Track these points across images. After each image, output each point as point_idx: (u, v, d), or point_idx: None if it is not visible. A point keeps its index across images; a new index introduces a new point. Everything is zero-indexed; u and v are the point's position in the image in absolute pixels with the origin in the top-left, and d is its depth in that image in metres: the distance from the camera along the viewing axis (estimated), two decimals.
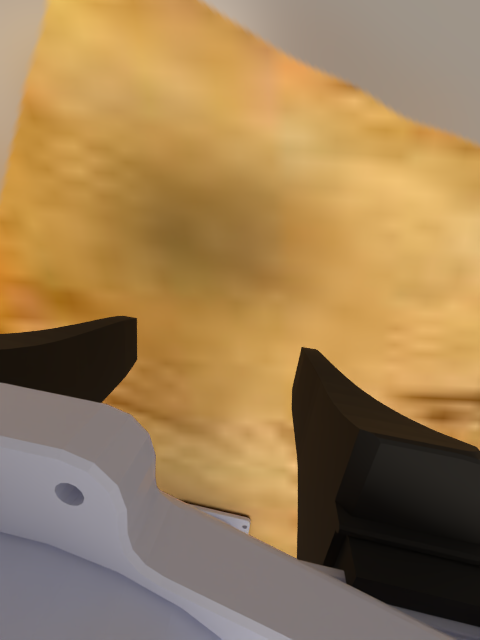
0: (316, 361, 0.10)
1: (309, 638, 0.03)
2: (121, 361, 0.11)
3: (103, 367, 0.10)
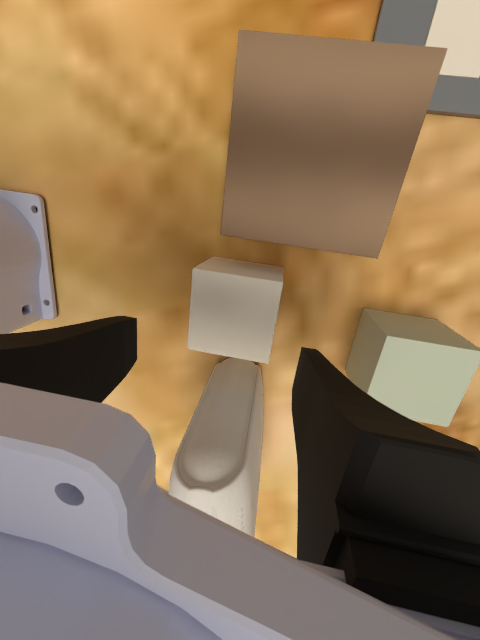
0: (316, 361, 0.10)
1: (309, 638, 0.03)
2: (121, 361, 0.11)
3: (103, 367, 0.10)
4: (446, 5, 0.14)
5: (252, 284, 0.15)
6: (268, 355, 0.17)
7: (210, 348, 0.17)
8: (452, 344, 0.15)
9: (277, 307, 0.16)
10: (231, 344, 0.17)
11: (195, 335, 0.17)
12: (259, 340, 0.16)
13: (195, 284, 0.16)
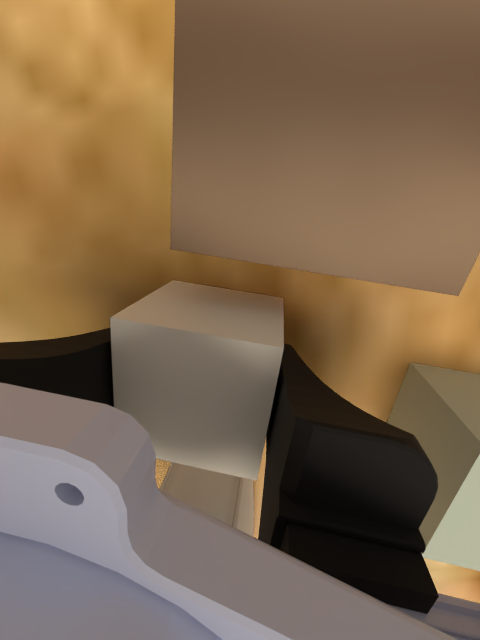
0: (286, 355, 0.10)
1: (309, 638, 0.03)
2: None
3: None
4: None
5: (225, 349, 0.08)
6: (257, 468, 0.09)
7: (155, 450, 0.10)
8: None
9: (272, 391, 0.08)
10: (190, 447, 0.09)
11: None
12: (241, 443, 0.09)
13: (118, 345, 0.08)
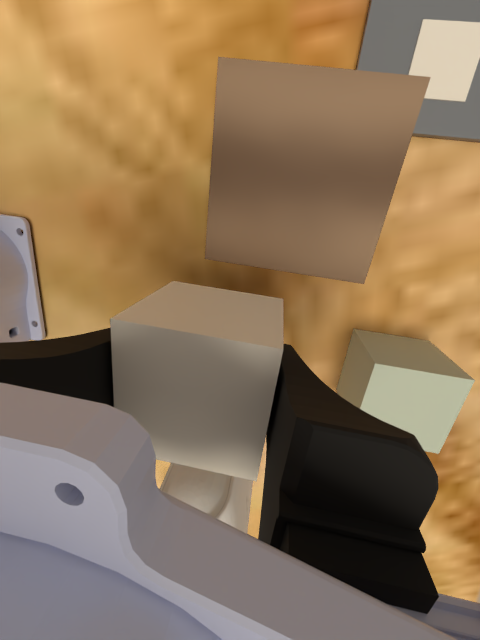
0: (285, 355, 0.10)
1: (309, 638, 0.03)
2: None
3: None
4: (430, 29, 0.13)
5: (224, 350, 0.08)
6: (256, 468, 0.09)
7: (154, 451, 0.10)
8: (442, 372, 0.15)
9: (272, 392, 0.08)
10: (190, 447, 0.09)
11: None
12: (240, 444, 0.09)
13: (118, 346, 0.08)
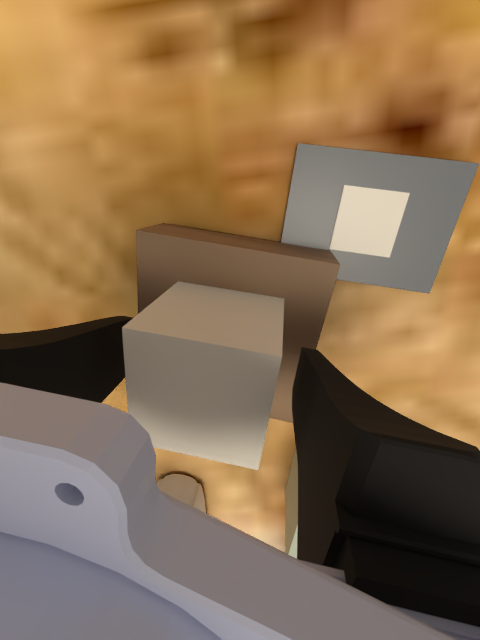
0: (316, 361, 0.10)
1: (309, 638, 0.03)
2: (121, 361, 0.11)
3: (103, 367, 0.10)
4: (352, 193, 0.14)
5: (227, 357, 0.09)
6: (258, 459, 0.10)
7: (165, 443, 0.11)
8: None
9: (272, 394, 0.09)
10: (197, 441, 0.10)
11: None
12: (243, 438, 0.10)
13: (130, 352, 0.09)
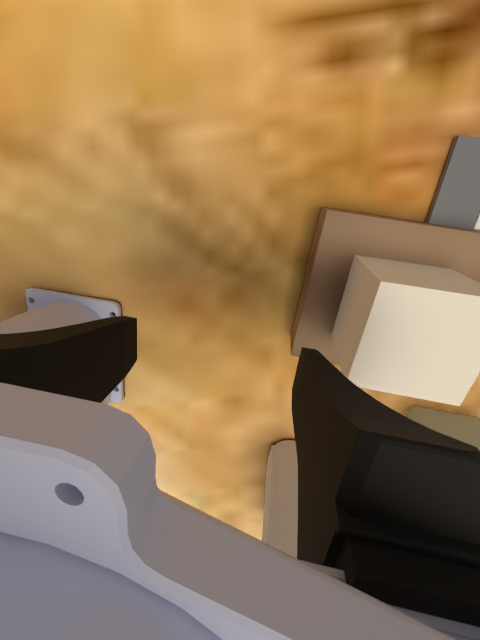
0: (316, 361, 0.10)
1: (309, 638, 0.03)
2: (121, 361, 0.11)
3: (103, 367, 0.10)
4: None
5: (470, 304, 0.11)
6: (463, 396, 0.12)
7: (379, 384, 0.13)
8: None
9: None
10: (411, 381, 0.12)
11: (361, 368, 0.13)
12: (456, 377, 0.12)
13: (379, 303, 0.11)
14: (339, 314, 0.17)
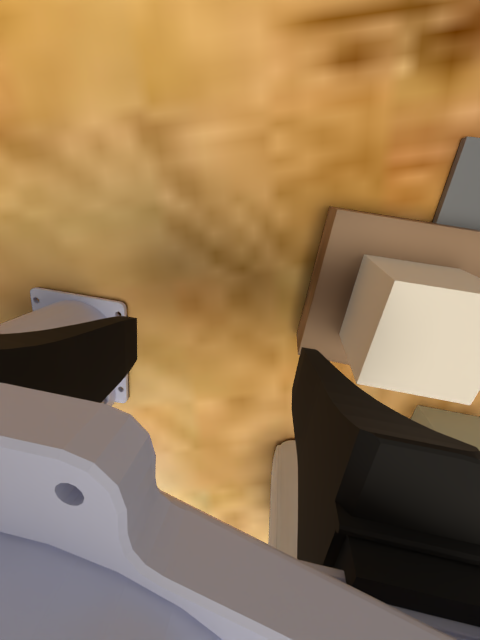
0: (316, 361, 0.10)
1: (309, 638, 0.03)
2: (121, 361, 0.11)
3: (103, 367, 0.10)
4: None
5: None
6: (474, 395, 0.12)
7: (390, 383, 0.13)
8: None
9: None
10: (423, 380, 0.13)
11: (373, 367, 0.13)
12: (468, 376, 0.12)
13: (393, 302, 0.11)
14: (347, 314, 0.17)
